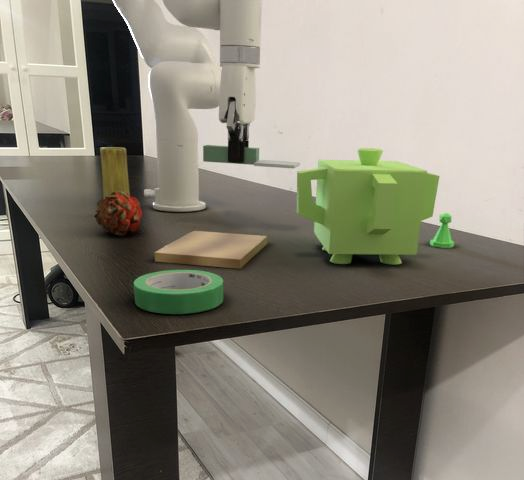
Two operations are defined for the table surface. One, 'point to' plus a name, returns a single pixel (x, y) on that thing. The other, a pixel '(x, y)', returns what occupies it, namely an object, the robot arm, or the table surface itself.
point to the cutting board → (212, 249)
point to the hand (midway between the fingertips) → (238, 160)
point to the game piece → (443, 233)
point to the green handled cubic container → (367, 206)
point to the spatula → (250, 157)
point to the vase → (114, 170)
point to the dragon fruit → (119, 213)
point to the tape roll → (178, 291)
